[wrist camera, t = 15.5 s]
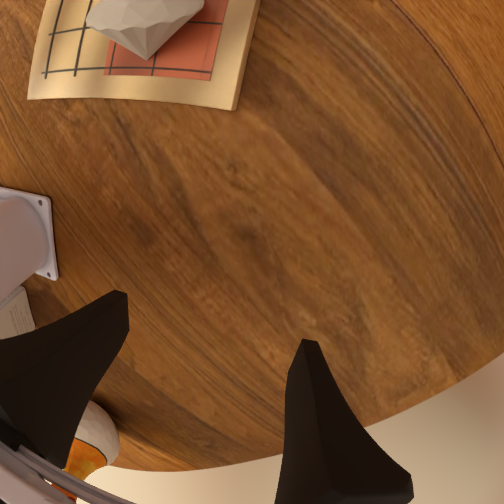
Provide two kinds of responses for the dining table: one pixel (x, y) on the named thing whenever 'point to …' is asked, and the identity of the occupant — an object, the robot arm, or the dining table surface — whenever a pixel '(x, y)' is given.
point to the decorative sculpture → (91, 445)
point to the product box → (15, 314)
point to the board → (138, 69)
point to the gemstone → (141, 21)
